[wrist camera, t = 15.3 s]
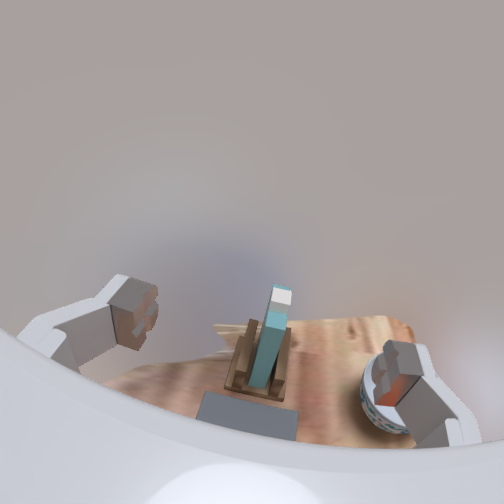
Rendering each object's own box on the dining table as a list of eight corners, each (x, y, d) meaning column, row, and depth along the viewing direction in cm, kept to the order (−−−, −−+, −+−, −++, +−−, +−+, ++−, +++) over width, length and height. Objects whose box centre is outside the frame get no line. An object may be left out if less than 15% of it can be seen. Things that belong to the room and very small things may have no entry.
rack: (224, 388, 42) (228, 367, 39) (238, 339, 52) (243, 317, 49) (282, 401, 41) (292, 382, 39) (288, 351, 51) (297, 329, 48)
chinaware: (371, 465, 32) (399, 444, 28) (328, 392, 44) (346, 363, 40) (433, 428, 37) (460, 403, 34) (391, 370, 49) (411, 342, 46)
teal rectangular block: (247, 385, 42) (268, 316, 35) (257, 344, 50) (275, 275, 43) (264, 389, 42) (288, 320, 35) (271, 347, 50) (292, 279, 43)
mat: (181, 460, 30) (181, 459, 30) (205, 392, 41) (205, 390, 41) (289, 483, 30) (290, 483, 29) (297, 412, 40) (298, 411, 40)
